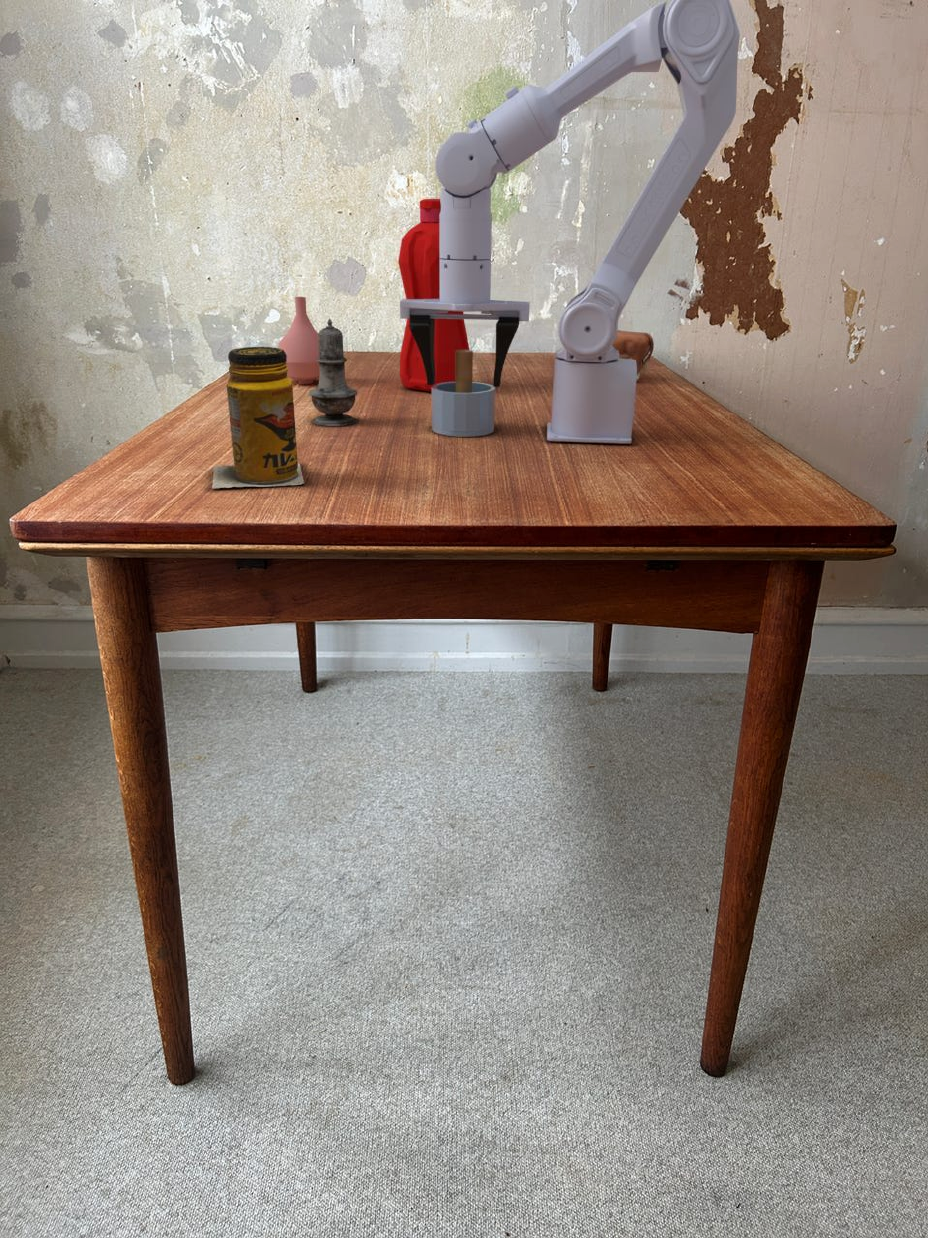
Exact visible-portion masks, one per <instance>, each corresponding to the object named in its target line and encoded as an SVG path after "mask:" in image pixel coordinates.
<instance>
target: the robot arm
mask: <svg viewBox="0 0 928 1238" xmlns="http://www.w3.org/2000/svg"><path fill="white" fill-rule="evenodd" d="M667 2H668V1H667V0H664V1H662V2H660V3H658V4H655V5H654V6H653V7H651V8H650V9H648V10H647V11H645V12H644V13H642V14H641V15H640V16H638V17H636V18H635V19H634V20H632V21H630V22H629V23H627V24H626V25H625V26H624V27H622V28H621V29H620V30H618V31H617V32H616V33H615V34H613V35H612V36H611V37H610V38H609V39H607V40H606V41H604V42H603V43H602V44H601V45H599V46H598V47H597V48H596V49H594V50H593V51H591V52H590V53H589V54H588V55H587V56H586V57H584V58H582V60H580V61H579V62H578V63H577V64H575V65H574V66H572V67H571V68H570V69H569V70H568V71H566V72H565V73H564V74H563V75H561V76H559V78H558V79H556V80H555V81H554V82H552V83H551V84H550V85H549V86H547V87H540V86H536V85H532V84H527V85H526V86H524V87H523V88H521V89H520V90H519V88H518V87H517V86H513V87H511V88H510V89H509V90H507V91H506V92H504V93H505V97H506V100H505V101H504V102H502V103H501V104H500V105H499V106H497V107H495V108H494V109H493V110H491V111H490V112H489V113H488V114H486V115H485V116H483V117H482V118H481V119H480V120H478V121H477V119H476V118H473V119H471V120H470V121H469V122H466V127H467V129H468V131H457V132H456V131H455V132H453V133H451V134H450V135H449V136H448V138H447V140H446V141H444V142H443V144H442V145H441V146H440V147H439V148H438V151H437V153H436V157H435V164H434V165H435V166H434V167H435V174H436V177H437V179H438V181H439V183H440V184H441V186H442V187H441V188H440V198H439V199H440V203H441V212H440V215H439V216H440V299H406V298H402V299H401V300H399V319H402V320H407V319H410V323H409V328H410V331H411V333H412V335H413V337H414V339H415V342H416V344H417V346H418V349H419V351H420V354H421V357H422V360H423V364H424V368H425V372H426V377H427V385H434V383H435V358H434V337H435V319H464V320H479V321H480V320H481V321H485V320H486V321H497V322H496V323H495V362H494V372H493V385H492V386H493V387H496V388H500V387H501V382H502V381H501V380H502V374H503V369H504V364H505V361H506V359H507V355H508V352H509V350H510V347H511V344H512V343H513V340H514V338H515V336H516V333H517V331H518V329H519V326H520V322H529V321H530V303H531V302H530V301H516V300H499V299H498V300H497V299H491V287H492V286H491V285H492V244H493V243H492V242H493V241H492V238H493V237H492V235H493V214H492V212H491V210H492V209H491V206H492V205H491V204H492V189H491V188H492V187H493V185H494V184H495V181H496V180H497V176H498V174H503V175H507V174H508V173H510V172H511V171H513V170H514V169H515V168H517V167H518V166H519V165H521V164H522V163H524V162H525V161H526V160H528V159H530V158H531V157H532V156H534V155H535V154H536V153H538V152H539V151H541V150H542V149H544V148H545V147H546V146H548V145H549V144H551V143H552V142H554V141H555V140H557V137H558V134H559V131H560V125H561V121H562V119H563V118H564V117H566V116H567V115H569V114H570V113H572V112H573V111H575V110H577V108H579V107H581V106H583V105H585V103H587V102H588V101H590V100H591V99H593V98H594V97H596V96H597V95H599V94H600V93H602V92H603V91H605V90H607V89H608V88H609V87H611V86H613V85H614V84H615V83H617V82H619V81H620V80H622V78H624V77H626V76H627V75H629V74H632V73H659V72H660V69H661V64H662V61H663V62H664V64H665V66H666V67H667V69H668V71H669V73H670V74H671V76H672V77H673V79H674V81H675V82H676V84H677V92H678V95H679V96H678V97H679V101H680V105H681V109H682V113H683V114H682V115H683V116H682V119H681V121H680V122H679V124H678V126H677V127H676V130H675V132H674V133H673V135H672V136H671V139H670V140H669V142H668V144H667V146H666V147H665V149H664V151H663V153H662V154H661V156H660V158H659V160H658V161H657V163H656V165H655V167H654V169H653V170H652V172H651V174H650V175H649V177H648V178H647V180H646V182H645V184H644V186H643V188H642V190H641V191H640V194H639V195H638V197H637V198H636V200H635V202H634V204H633V206H632V208H631V209H630V210H629V212H628V215H627V216H626V218H625V220H624V222H622V224H621V226H620V228H619V230H618V232H617V234H616V235H615V237H614V239H613V241H612V243H611V245H610V246H609V248H608V249H607V252H605V253H606V254H604V257H603V258H602V260H601V262H600V263H599V266H598V267H597V268H596V270H595V273H594V274H593V275H592V278H591V279H590V281H589V283H588V285H587V286H586V287H585V288H584V289H583V290H582V291H581V292H579V293H577V294H576V295H575V296H573V297H572V298H571V299H570V300H569V301H568V302H567V305H566V307H564V310H563V312H562V313H561V316H560V319H559V321H558V327H557V329H558V330H557V332H558V338H559V341H560V343H561V346H562V347H561V348H559V349H557V350H555V352H554V362H553V363H554V365H553V385H552V400H551V402H552V403H551V418H550V419H551V420H550V422H547V425H546V426H547V427H546V441H548V442H563V443H564V442H565V443H570V442H571V443H590V444H591V443H593V444H594V443H595V444H596V443H597V444H625V445H630V444H632V442H633V441H632V440H633V439H632V436H633V435H632V434H633V426H634V425H635V416H636V415H635V414H636V411H635V402H636V392H637V381H638V380H637V364H636V360H633V359H632V358H630V359H620V358H619V351H618V350H615V348H614V347H613V346H612V345H613V343H614V341H615V339H616V335H617V330H619V329H618V328H619V319H620V316H621V314H622V312H623V310H624V309H625V307H626V305H627V303H628V301H629V299H630V297H631V295H632V293H633V291H634V289H635V287H636V285H637V284H638V282H639V280H640V278H641V277H642V276H643V274H644V273H645V270H646V268H647V267H648V265H649V263H650V261H651V260H652V258H653V257H654V255H655V253H656V252H657V250H658V249H659V246H660V245H661V243H662V241H663V240H664V239H665V237H666V234H667V233H668V232H669V230H670V228H671V226H672V224H673V223H674V221H675V219H676V218H677V216H678V214H679V213H680V210H681V209H682V208H683V206H684V204H685V202H686V201H687V199H688V197H689V196H690V194H691V193H692V190H693V189H694V187H695V186H696V184H697V182H698V180H699V179H700V178H701V176H702V174H703V172H704V171H705V169H706V167H707V166H708V164H709V162H710V161H711V159H712V157H713V156H714V153H715V152H716V151H717V148H718V147H719V145H720V144H721V142H722V140H723V138H724V137H725V135H726V133H727V132H728V130H729V129H730V127H731V125H732V123H733V121H734V118H735V115H736V114H737V113H736V112H737V89H738V88H737V87H738V86H737V85H738V56H739V48H740V47H739V46H740V35H741V33H740V29H739V25H738V23H737V19H736V17H735V13H734V9H733V6H732V3H731V1H730V0H671V1H670V3H669V4H668V7H667V9H666V6H667ZM448 311H461V312H463V314H440V313H448ZM465 312H466V313H465ZM467 312H469V313H467ZM470 312H472V313H470ZM473 312H476V313H477V312H480V314H479V313H477V314H475V313H473ZM636 380H637V381H636Z"/></svg>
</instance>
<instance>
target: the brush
mask: <svg viewBox="0 0 928 1238" xmlns="http://www.w3.org/2000/svg"><path fill="white" fill-rule="evenodd" d="M473 360H474V351H473V350H471V349H470V350H456V352H455V392H461V393H471V392H472V382H473V370H474V369H473V367H474V366H473V365H474V361H473Z"/></svg>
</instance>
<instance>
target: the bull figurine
mask: <svg viewBox="0 0 928 1238" xmlns="http://www.w3.org/2000/svg"><path fill="white" fill-rule="evenodd" d="M654 345H655V343H654V338H653V337H652V335H651V334H650V333H649V332H640V331H639V332H638V331H628V330H619V329H618V330H617V335H616V339H615V341H614V343H613V345H612V346H613V347H614V348H615V350H618V351H619V358H620V359H632V360H636V364H637V380H636V382H637V381H638V380H640V375H641V372H642V373H645V372H646V371H647V369H648V367H649V364H650V360H651V357H652V355H653V353H654V348H655V347H654ZM645 358H646V359H645Z"/></svg>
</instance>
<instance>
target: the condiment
mask: <svg viewBox="0 0 928 1238" xmlns="http://www.w3.org/2000/svg"><path fill="white" fill-rule="evenodd" d="M227 358H228V359H227V360H228V364H229V367H228V373H229V375H230V376H229V378H228V381H227V383H226V393H227V394H226V395H227V403H228V404H227V405H228V406H227V407H228V413H229V424H230V434H231V435H230V436H231V437H230V438H231V448H232V456H233V464H234V465H213V472H212V473H213V475H212V485H211V489H221V488H223V489H225V488H226V489H229V488H244V487H247V488H248V487H250V488H251V487H253V488H255V487H258V488H260V487H261V488H264V487H265V488H266V487H287V486H299V485H303V484H305V480H304V477H303V472H302V468H301V462H298V459H299V458H298V445H297V444H298V443H297V431H296V417H295V404H294V402H295V401H294V388H293V386H294V385H293V382H292V380H291V378H289V377H288V376H287V372H288V368H287V363H286V362H287V355H286V353H285V352H284V350H282V349H279V348H278V347H273V346H272V347H271V346H246V347H238V348H233V349H231V350H230V351H229V352H228V356H227Z"/></svg>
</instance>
